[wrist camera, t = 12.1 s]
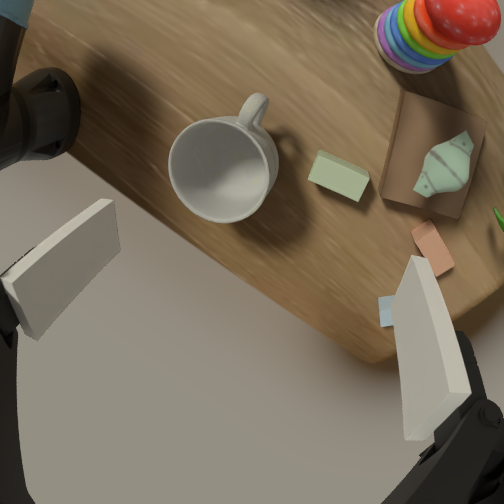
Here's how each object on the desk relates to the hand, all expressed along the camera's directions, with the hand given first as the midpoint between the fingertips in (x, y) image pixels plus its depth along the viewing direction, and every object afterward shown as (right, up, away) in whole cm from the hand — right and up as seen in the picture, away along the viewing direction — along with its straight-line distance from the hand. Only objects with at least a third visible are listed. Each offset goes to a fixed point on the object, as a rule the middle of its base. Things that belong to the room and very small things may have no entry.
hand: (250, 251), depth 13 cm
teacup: (-1, +13, +23) cm, 26 cm away
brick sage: (+10, +9, +22) cm, 26 cm away
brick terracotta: (+23, +1, +23) cm, 32 cm away
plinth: (+20, +11, +17) cm, 29 cm away
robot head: (+19, +10, +15) cm, 27 cm away
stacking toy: (+17, +22, +12) cm, 30 cm away
